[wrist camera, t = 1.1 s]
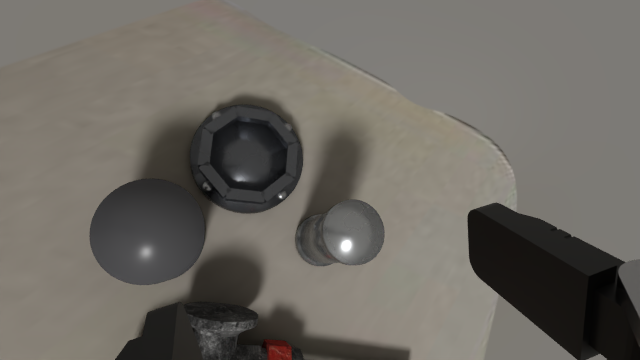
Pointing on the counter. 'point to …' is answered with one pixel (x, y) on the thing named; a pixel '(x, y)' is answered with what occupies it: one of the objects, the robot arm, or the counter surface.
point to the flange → (246, 159)
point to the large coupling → (147, 232)
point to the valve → (232, 334)
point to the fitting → (341, 235)
